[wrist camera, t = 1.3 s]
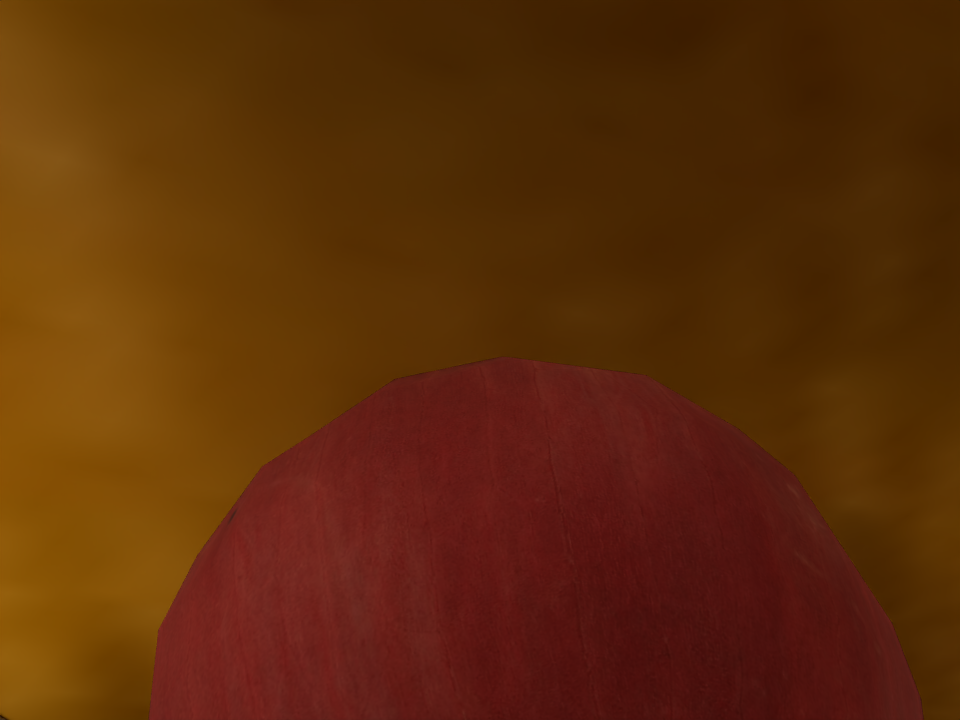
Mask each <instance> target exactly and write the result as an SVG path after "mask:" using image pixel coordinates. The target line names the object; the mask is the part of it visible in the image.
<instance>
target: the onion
mask: <svg viewBox="0 0 960 720" xmlns="http://www.w3.org/2000/svg"><path fill="white" fill-rule="evenodd" d="M149 720H924V718H923V710H922V703H921V698H920V695H919V693H918V690H917V687H916V685H915V682H914V679H913V677H912V674H911V672H910V669H909V666H908V664H907V661H906V658H905V656H904V653H903V650H902V648H901V645H900V643H899V640H898V637H897V635H896V632H895V629H894V627H893V624H892V622H891V621H890V619H889V618H888V616H887V615H886V613H885V612H884V610H883V609H882V607H881V606H880V604H879V603H878V601H877V600H876V598H875V597H874V595H873V593H872V592H871V590H870V589H869V587H868V586H867V584H866V583H865V581H864V580H863V578H862V577H861V575H860V574H859V572H858V571H857V569H856V568H855V566H854V565H853V563H852V561H851V560H850V558H849V557H848V555H847V554H846V552H845V551H844V549H843V548H842V546H841V545H840V543H839V542H838V540H837V539H836V537H835V536H834V534H833V532H832V531H831V529H830V528H829V526H828V525H827V523H826V522H825V520H824V519H823V517H822V516H821V514H820V513H819V511H818V510H817V508H816V507H815V505H814V503H813V502H812V500H811V499H810V497H809V496H808V494H807V493H806V491H805V490H804V488H803V487H802V485H801V484H800V482H799V481H798V479H797V478H796V476H795V475H794V474H793V473H792V472H790V471H789V470H788V469H787V468H786V467H784V466H783V465H782V464H781V463H779V462H778V461H777V460H776V459H775V458H773V457H772V456H771V455H770V454H768V453H767V452H766V451H765V450H764V449H762V448H761V447H760V446H759V445H758V444H756V443H755V442H754V441H753V440H751V439H750V438H749V437H748V436H747V435H745V434H744V433H743V432H742V431H740V430H739V429H738V428H736V427H735V426H733V425H731V424H729V423H728V422H726V421H724V420H722V419H721V418H719V417H717V416H716V415H714V414H712V413H710V412H709V411H707V410H705V409H704V408H702V407H700V406H698V405H697V404H695V403H693V402H691V401H690V400H688V399H686V398H685V397H683V396H681V395H679V394H678V393H676V392H674V391H673V390H671V389H669V388H667V387H666V386H664V385H662V384H661V383H659V382H657V381H655V380H654V379H652V378H650V377H648V376H647V375H641V374H633V373H626V372H618V371H611V370H603V369H595V368H588V367H580V366H572V365H565V364H557V363H549V362H542V361H534V360H526V359H519V358H510V357H498V358H493V359H489V360H484V361H479V362H474V363H469V364H465V365H460V366H455V367H450V368H445V369H441V370H436V371H431V372H426V373H421V374H417V375H412V376H407V377H402V378H397V379H394V380H393V381H391V382H390V383H388V384H387V385H385V386H384V387H382V388H381V389H379V390H378V391H376V392H375V393H373V394H372V395H370V396H369V397H367V398H366V399H364V400H363V401H361V402H360V403H358V404H357V405H355V406H354V407H352V408H351V409H349V410H348V411H346V412H345V413H343V414H342V415H340V416H339V417H337V418H336V419H334V420H333V421H332V422H330V423H329V424H327V425H326V426H324V427H323V428H321V429H320V430H318V431H317V432H315V433H314V434H312V435H311V436H309V437H308V438H306V439H304V440H303V441H301V442H300V443H298V444H297V445H295V446H293V447H292V448H290V449H289V450H287V451H286V452H284V453H283V454H281V455H279V456H278V457H276V458H275V459H273V460H272V461H270V462H268V463H267V464H265V465H264V466H262V467H261V469H260V470H259V472H258V473H257V474H256V476H255V477H254V478H253V480H252V481H251V483H250V484H249V485H248V487H247V488H246V489H245V491H244V492H243V494H242V495H241V496H240V498H239V499H238V500H237V502H236V503H235V504H234V506H233V507H232V509H231V510H230V511H229V513H228V514H227V515H226V517H225V518H224V520H223V521H222V522H221V524H220V525H219V526H218V528H217V529H216V531H215V532H214V533H213V535H212V536H211V537H210V539H209V540H208V541H207V543H206V544H205V546H204V547H203V548H202V550H201V551H200V552H199V554H198V555H197V557H196V559H195V561H194V563H193V565H192V567H191V568H190V570H189V572H188V574H187V576H186V578H185V580H184V582H183V584H182V586H181V588H180V590H179V592H178V593H177V595H176V597H175V599H174V601H173V603H172V605H171V607H170V609H169V611H168V613H167V615H166V617H165V619H164V620H163V622H162V624H161V626H160V628H159V630H158V639H157V648H156V657H155V666H154V675H153V684H152V693H151V702H150V711H149Z"/></svg>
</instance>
